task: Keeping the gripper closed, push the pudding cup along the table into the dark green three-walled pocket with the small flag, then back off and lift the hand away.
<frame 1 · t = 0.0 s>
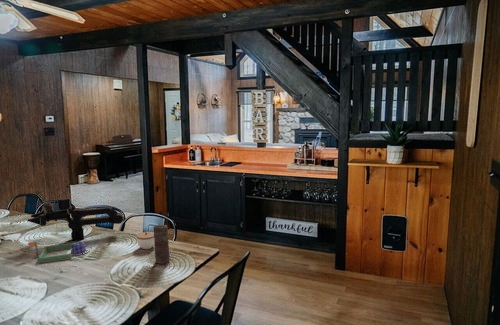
hand: (29, 218, 207), 17 cm above the table, tool horizontal, fingers open, 9 cm apart
lidded jar: (146, 247, 204), on the table
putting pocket: (58, 254, 194), on the table
candle: (162, 261, 184), on the table
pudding: (78, 252, 198), on the table
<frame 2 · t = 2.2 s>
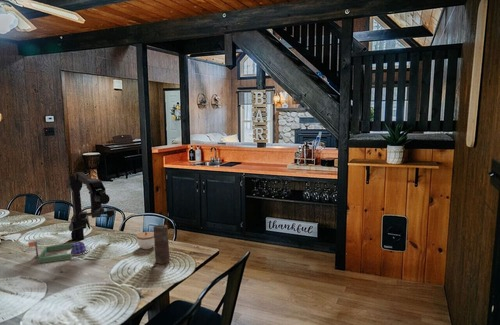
hand: (98, 228, 200), 13 cm above the table, tool pointing down, fingers open, 9 cm apart
nothing on the table moved.
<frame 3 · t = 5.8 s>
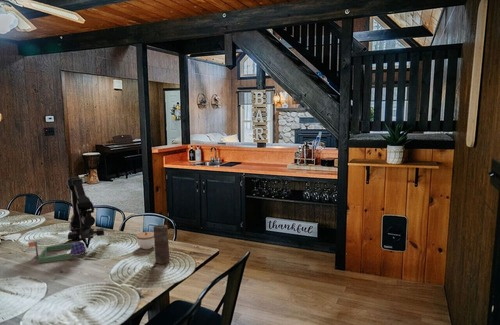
hand: (87, 247, 199), 1 cm above the table, tool pointing down, fingers closed
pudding: (78, 252, 198), on the table, touching gripper
everything else where it was.
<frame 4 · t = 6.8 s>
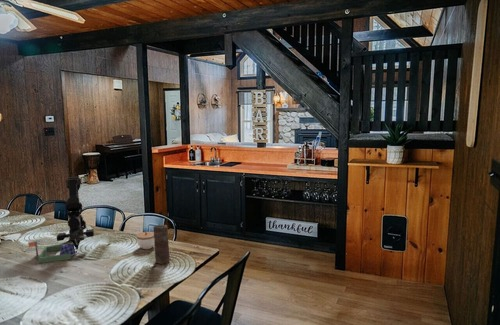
hand: (77, 249, 197), 2 cm above the table, tool pointing down, fingers closed
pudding: (67, 254, 195), on the table, touching gripper
everything else where it was.
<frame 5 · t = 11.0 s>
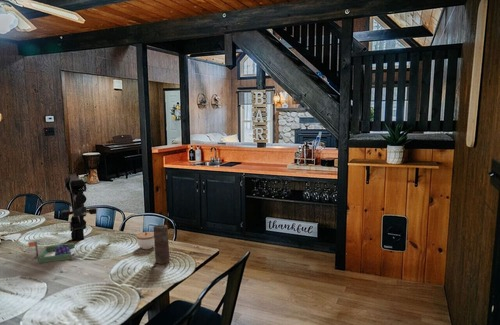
hand: (80, 226, 205), 12 cm above the table, tool pointing down, fingers closed
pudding: (62, 255, 194), on the table
everything else where it was.
at the end: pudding inside the target area on the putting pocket (3.3 cm from its centre), point -0.5 cm above the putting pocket's base; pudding tilted 0°; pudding moved 8.0 cm from its start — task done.
